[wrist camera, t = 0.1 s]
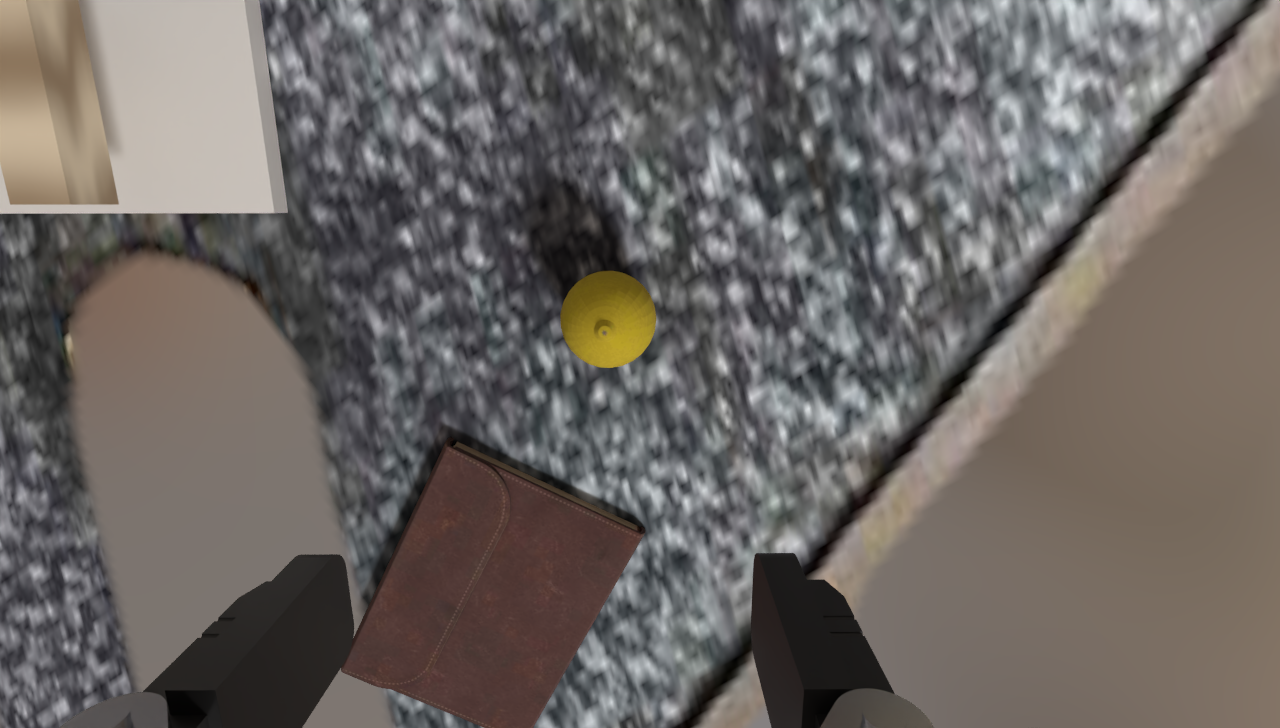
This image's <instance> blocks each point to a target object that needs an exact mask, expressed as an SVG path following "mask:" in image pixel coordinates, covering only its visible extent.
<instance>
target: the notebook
mask: <svg viewBox="0 0 1280 728" xmlns="http://www.w3.org/2000/svg"><path fill="white" fill-rule="evenodd" d="M453 441H454V438H452V437H450V438H448V439H447V440H446V442H445V445H444V447H443V449H442V451H441V453H440V455H439V457H438V459H437V462H436V464H435V466H434V468H433V470H432V472H431V474H430V477H429V479H428V481H427V483H426V485H425V487H424V489H423V491H422V494H421V496H420V498H419V500H418V502H417V504H416V506H415V508H414V511H413V513H412V515H411V517H410V519H409V521H408V523H407V525H406V528H405V530H404V532H403V534H402V536H401V538H400V540H399V543H398V545H397V547H396V549H395V551H394V553H393V555H392V557H391V560H390V562H389V564H388V566H387V568H386V570H385V572H384V574H383V577H382V579H381V581H380V583H379V585H378V587H377V589H376V591H375V594H374V596H373V598H372V600H371V602H370V604H369V606H368V609H367V611H366V613H365V615H364V617H363V619H362V621H361V623H360V626H359V628H358V630H357V632H356V634H355V636H354V638H353V641H352V646H351V649H350V652H349V654H348V657H347V659H346V660H345V662H344V663H343V665H342V667H341V671H342V672H343V673H345V674H348V675H350V676H352V677H355V678H357V679H360V680H362V681H364V682H367V683H369V684H371V685H374V686H377V687H381V688H386V689H392V690H394V691H397V692H399V693H401V694H404V695H406V696H409V697H411V698H414V699H416V700H419V701H421V702H423V703H426V704H428V705H431V706H433V707H436V708H438V709H440V710H443V711H445V712H448V713H450V714H453V715H455V716H457V717H460V718H462V719H465V720H467V721H470V722H472V723H474V724H477V725H479V726H482V727H484V728H533V727H534V725H535V723H536V721H537V720H538V718H539V716H540V714H541V713H542V711H543V709H544V708H545V706H546V704H547V702H548V701H549V699H550V697H551V695H552V694H553V692H554V690H555V688H556V687H557V685H558V683H559V681H560V680H561V678H562V676H563V674H564V673H565V671H566V669H567V668H568V666H569V664H570V662H571V661H572V659H573V657H574V655H575V654H576V652H577V650H578V648H579V647H580V645H581V643H582V641H583V640H584V638H585V636H586V635H587V633H588V631H589V629H590V628H591V626H592V624H593V622H594V621H595V619H596V617H597V615H598V614H599V612H600V610H601V608H602V607H603V605H604V603H605V601H606V600H607V598H608V596H609V595H610V593H611V591H612V589H613V588H614V586H615V584H616V582H617V581H618V579H619V577H620V575H621V574H622V572H623V570H624V568H625V567H626V565H627V563H628V562H629V560H630V558H631V556H632V555H633V553H634V551H635V549H636V548H637V546H638V544H639V542H640V541H641V539H642V537H643V535H644V534H645V528H644V527H641V528H639V526H637V525H634V524H632V523H630V522H628V521H626V520H624V519H622V518H619V517H617V516H615V515H613V514H611V513H609V512H607V511H605V510H602V509H600V508H598V507H596V506H594V505H592V504H590V503H587V502H585V501H583V500H581V499H579V498H577V497H575V496H572V495H570V494H568V493H566V492H564V491H562V490H560V489H558V488H555V487H553V486H551V485H549V484H547V483H545V482H543V481H540V480H538V479H536V478H534V477H532V476H530V475H528V474H526V473H523V472H521V471H519V470H517V469H515V468H513V467H511V466H508V465H506V464H504V463H502V462H500V461H498V460H496V459H493V458H491V457H489V456H487V455H485V454H483V453H481V452H479V451H476V450H474V449H472V448H470V447H468V446H466V445H464V444H461V443H459V442H456V444H455V445H454V446H453V447H452V446H451V445H452V443H453Z"/></svg>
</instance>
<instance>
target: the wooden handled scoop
mask: <svg viewBox="0 0 1280 728" xmlns="http://www.w3.org/2000/svg"><path fill="white" fill-rule="evenodd" d="M0 165H1V169H2V173H3V177H4V181H5V185H6V190H7V194H8V198H9V202H10V205H118V204H119V201H118V196H117V191H116V186H115V181H114V176H113V171H112V166H111V161H110V156H109V151H108V146H107V141H106V136H105V131H104V126H103V121H102V116H101V111H100V106H99V101H98V96H97V91H96V86H95V81H94V76H93V71H92V66H91V61H90V56H89V51H88V46H87V41H86V36H85V31H84V26H83V21H82V16H81V11H80V6H79V1H78V0H0Z"/></svg>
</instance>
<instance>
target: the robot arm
mask: <svg viewBox="0 0 1280 728" xmlns="http://www.w3.org/2000/svg"><path fill="white" fill-rule="evenodd" d="M353 634H354V621H353V614H352V607H351V599H350V592H349V585H348V578H347V570H346V564H345V561H344V559H343V557H342V556H340V555H298V556H296V557H295V558H294V559H293V560H292V561H291V562H290V563H289V564H288V565H287V566H286V567H285V568H284V569H283V570H282V571H281V572H280V573H279V574H278V575H277V576H276V577H275V578H274V579H273V580H272V581H271V582H265V583H263V584H261V585H260V586H258V587H256V588H255V589H253V590H251V591H250V592H248V593H246V594H245V595H243V596H241V597H240V598H238V599H237V600H236V601H235V602H234V603H233V604H232V605H231V606H230V607H229V608H228V609H227V610H226V611H225V612H224V613H223V614H222V615H221V616H220V617H219V619H218V621H217V622H214V623H212V624H211V626H210V627H208V629H206V630H205V631H204V632H203V634H202V637H201V638H197V639H196V640H195V641H194V642H193V643H192V644H191V645H190V646H189V647H188V648H187V649H186V650H185V651H184V652H183V653H182V654H181V655H180V656H179V657H178V658H177V659H176V660H175V661H174V662H173V663H172V664H171V665H170V666H169V667H168V668H167V669H166V670H165V671H163V672H162V674H160V675H159V676H158V678H156V679H155V680H154V681H153V682H152V683H151V684H150V685H149V686H148V687H147V688H146V689H145V690H144V691H143V692H136V693H129V694H125V695H121V696H117V697H114V698H111V699H108V700H105V701H103V702H101V703H98V704H96V705H94V706H92V707H90V708H88V709H86V710H84V711H82V712H81V713H79V714H77V715H76V716H74V717H73V718H71V719H70V720H68V721H67V722H66V723H64V724H63V725H62V726H60V727H59V728H302V726H303V725H304V724H305V722H306V721H307V719H308V718H309V716H310V714H311V713H312V711H313V710H314V708H315V707H316V705H317V704H318V702H319V701H320V699H321V697H322V696H323V694H324V693H325V691H326V690H327V688H328V687H329V685H330V684H331V682H332V680H333V679H334V677H335V676H336V674H337V673H338V671H339V670H340V668H341V667H342V665H343V663H344V662H345V660H346V659H347V657H348V654H349V652H350V649H351V646H352V641H353ZM751 637H752V648H753V654H754V659H755V663H756V667H757V671H758V675H759V679H760V683H761V687H762V691H763V695H764V699H765V703H766V707H767V711H768V715H769V719H770V723H771V727H772V728H934V727H933V725H932V723H931V722H930V720H929V719H928V718H927V716H926V715H925V714H924V713H923V712H922V711H921V710H920V709H919V708H917V707H916V706H915V705H914V704H912V703H910V702H909V701H907V700H906V699H904V698H902V697H900V696H898V695H895V694H894V692H893V690H892V688H891V686H890V684H889V682H888V680H887V678H886V676H885V674H884V672H883V671H882V669H881V667H880V665H879V663H878V661H877V659H876V657H875V655H874V653H873V651H872V649H871V648H870V646H869V644H868V642H867V640H866V638H865V636H863V635H862V630H861V628H860V626H859V624H858V622H857V620H854V615H853V613H852V611H851V609H850V607H849V605H848V603H847V601H846V599H845V597H844V596H843V595H842V594H841V593H839V592H838V591H837V590H836V589H835V588H833V587H832V586H831V585H830V584H829V583H828V582H826V581H825V580H807V579H806V577H805V575H804V572H803V570H802V568H801V566H800V563H799V561H798V559H797V557H796V555H795V554H794V553H757V554H756V555H755V558H754V568H753V591H752V614H751Z"/></svg>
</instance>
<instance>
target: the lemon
mask: <svg viewBox="0 0 1280 728" xmlns="http://www.w3.org/2000/svg"><path fill="white" fill-rule="evenodd" d="M655 324H656V313H655V306H654V304H653V301H652V299H651V296H650V294H649V293H648V292H647V290H646V289H645V287H644V286H643V285H642V284H641V283H639V282H638V281H637V280H636V279H634V278H633V277H631V276H629V275H626V274H624V273H621V272H616V271H599V272H596V273H593V274H590V275H587V276H586V277H584V278H583V279H581V280H580V281H578V282H577V283H576V284H575V285H574V286H573V287H572V289H571V290H570V291H569V292H568V294H567V296H566V298H565V300H564V302H563V306H562V310H561V329H562V332H563V336H564V339H565V341H566V343H567V344H568V346H569V348H570V349H571V350H572V351H573V352H574V353H575V354H576V355H577V356H578V357H579V358H580V359H582V360H583V361H585V362H587V363H588V364H591V365H594V366H597V367H605V368H612V367H618V366H623V365H625V364H627V363H629V362H631V361H633V360H634V359H636V358H637V357H638V356H639V355H641V354H642V353H643V352H644V350H645V349H646V348H647V346H648V345H649V344H650V342H651V339H652V337H653V334H654V332H655Z"/></svg>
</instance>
